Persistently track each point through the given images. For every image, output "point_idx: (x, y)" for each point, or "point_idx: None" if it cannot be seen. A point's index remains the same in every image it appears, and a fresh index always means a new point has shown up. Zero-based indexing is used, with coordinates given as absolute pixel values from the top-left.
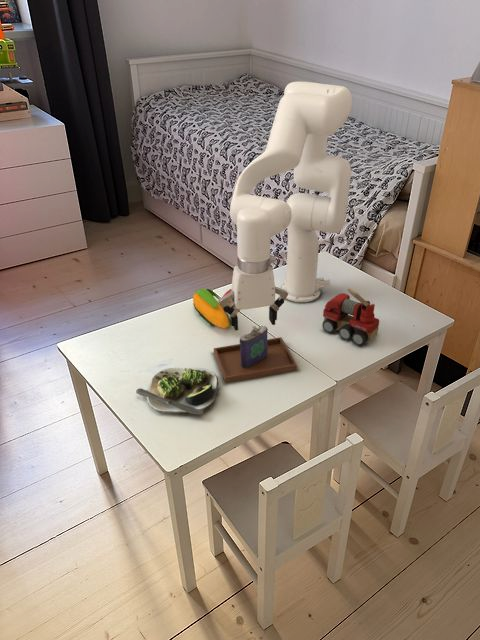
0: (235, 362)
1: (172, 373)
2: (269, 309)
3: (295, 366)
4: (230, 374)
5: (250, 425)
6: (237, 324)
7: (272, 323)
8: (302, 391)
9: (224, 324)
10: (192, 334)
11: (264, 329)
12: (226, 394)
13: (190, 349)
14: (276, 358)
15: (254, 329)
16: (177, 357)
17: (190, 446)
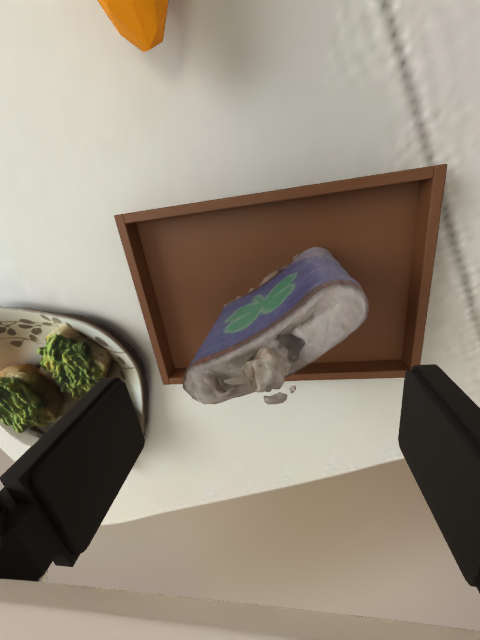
0: (204, 289)
1: (14, 322)
2: (473, 465)
3: None
4: (185, 346)
5: (223, 497)
6: (118, 485)
7: (405, 458)
8: (381, 445)
9: (132, 32)
10: (15, 31)
11: (341, 332)
12: (175, 409)
13: (38, 170)
14: None
15: (264, 388)
16: (7, 218)
17: (113, 506)
